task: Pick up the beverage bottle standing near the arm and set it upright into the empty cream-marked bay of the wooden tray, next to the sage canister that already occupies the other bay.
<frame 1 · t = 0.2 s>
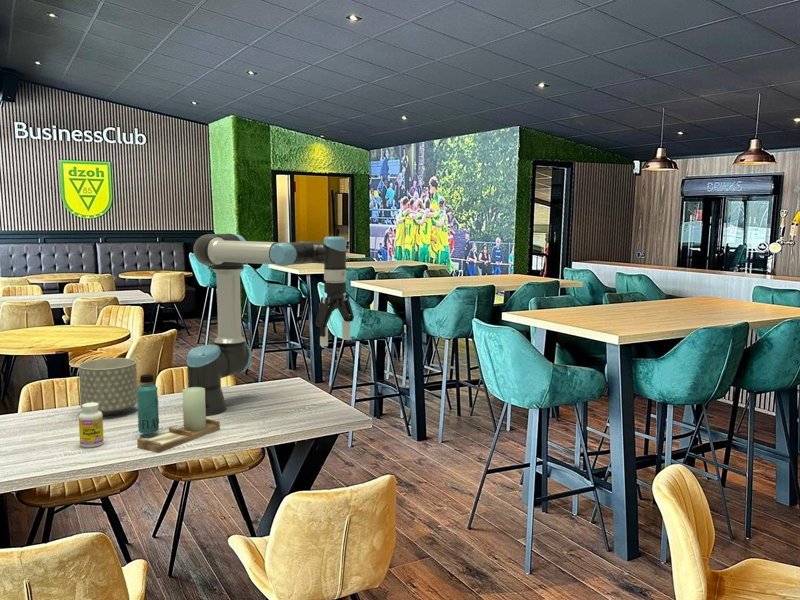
hand: (335, 342, 226), 28 cm above the table, fingers open, 13 cm apart
wooden tray: (180, 437, 210), on the table
sage canister: (195, 432, 215), resting on wooden tray
beverage bottle: (149, 435, 212), on the table
planter: (110, 412, 237), on the table
supplement bottle: (92, 445, 203), on the table
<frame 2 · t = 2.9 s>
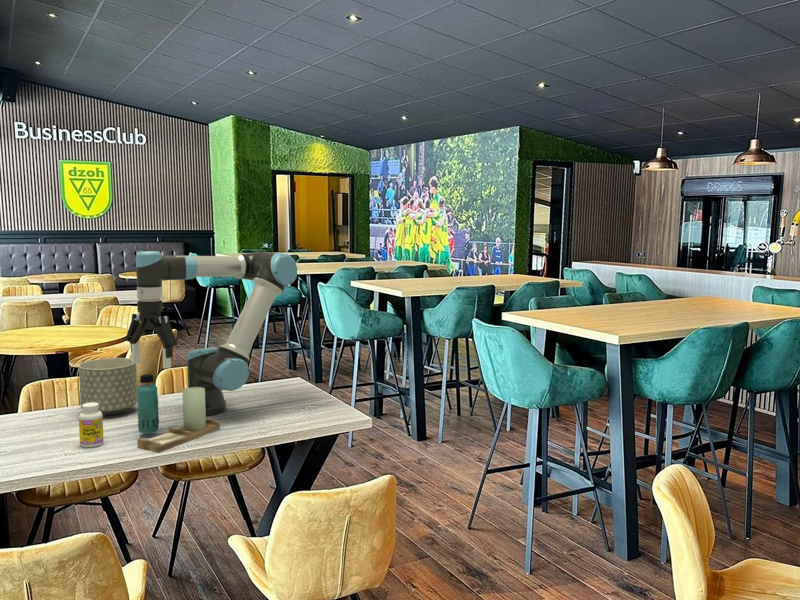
hand: (151, 365, 210), 23 cm above the table, fingers open, 13 cm apart
nothing on the table moved.
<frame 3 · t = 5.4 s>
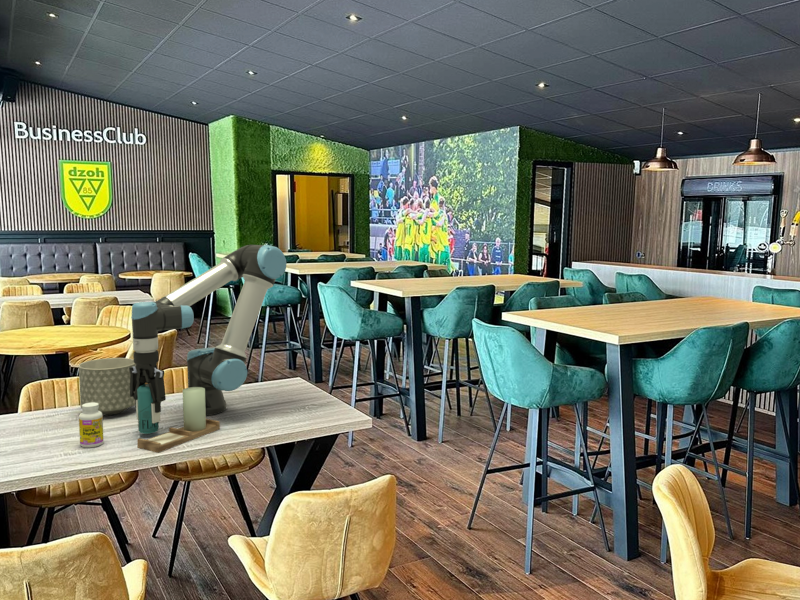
hand: (148, 420, 212), 5 cm above the table, fingers closed on beverage bottle, 6 cm apart
beverage bottle: (149, 435, 212), on the table, touching gripper
everything else where it was.
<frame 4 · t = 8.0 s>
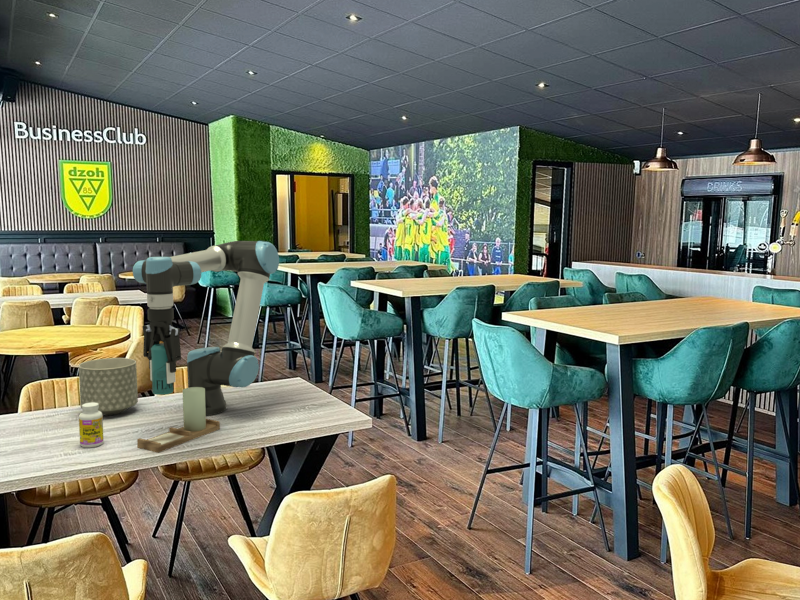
hand: (162, 381, 202), 20 cm above the table, fingers closed on beverage bottle, 6 cm apart
beverage bottle: (163, 397, 202), point 15 cm above the table, touching gripper
everything else where it was.
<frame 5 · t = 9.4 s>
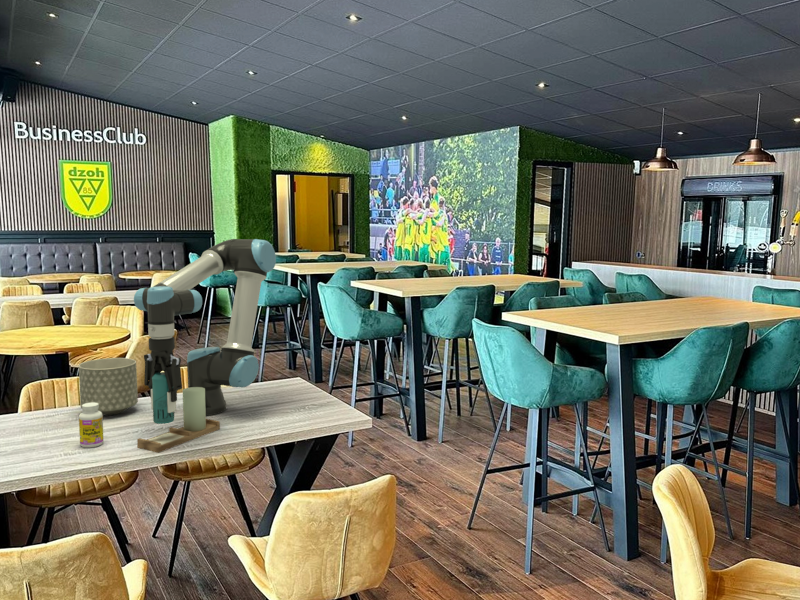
hand: (163, 409, 203), 11 cm above the table, fingers closed on beverage bottle, 6 cm apart
beverage bottle: (164, 426, 203), point 6 cm above the table, touching gripper
everything else where it was.
when the fingers open (8 cm above the table, at t = 10.4 s): beverage bottle drops 1 cm, resting on wooden tray.
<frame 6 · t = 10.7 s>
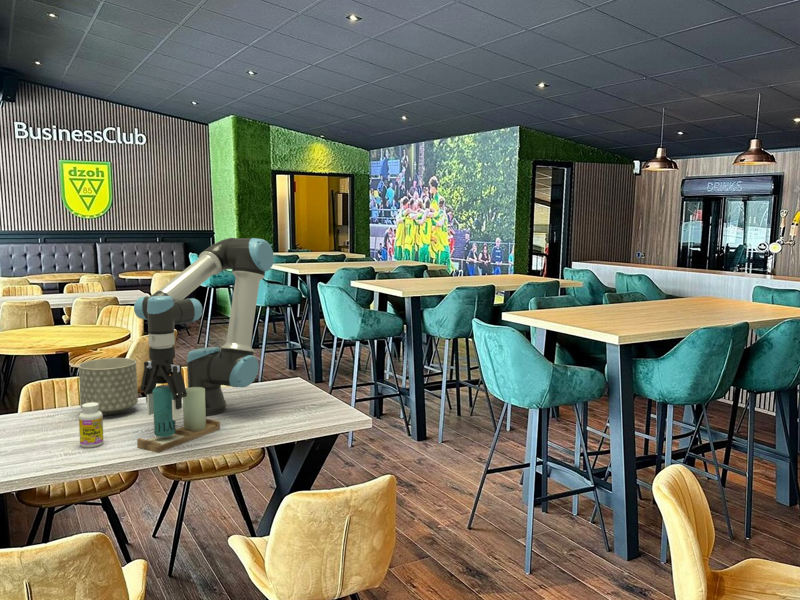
hand: (164, 416, 203), 9 cm above the table, fingers open, 10 cm apart
beverage bottle: (165, 438, 204), point 2 cm above the table, touching wooden tray
everything else where it was.
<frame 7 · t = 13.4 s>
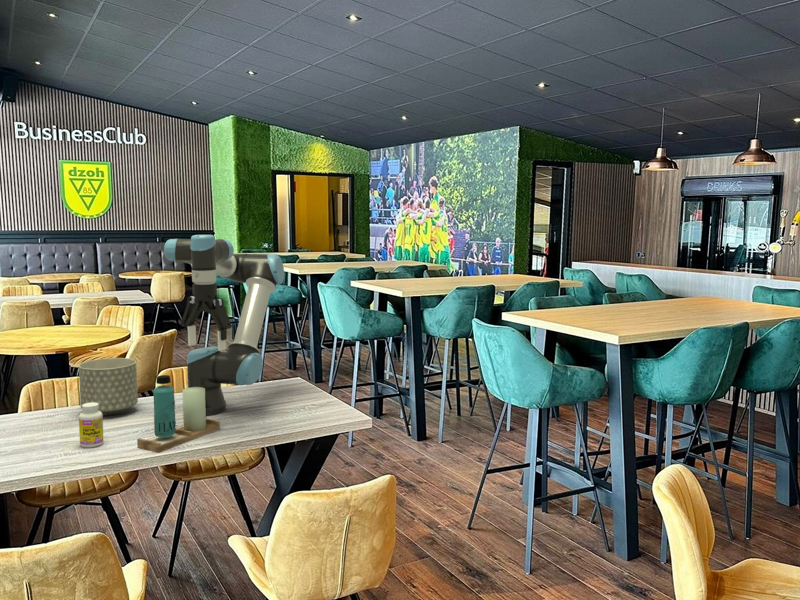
hand: (206, 347, 213), 28 cm above the table, fingers open, 13 cm apart
nothing on the table moved.
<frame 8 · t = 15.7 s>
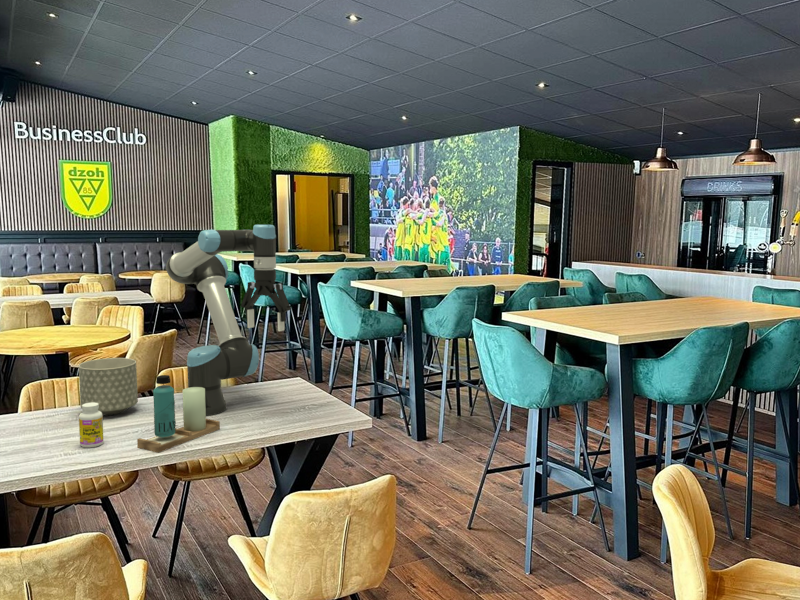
hand: (265, 329, 230), 32 cm above the table, fingers open, 13 cm apart
nothing on the table moved.
at the end: beverage bottle inside the target area on the wooden tray (0.1 cm from its centre), point 1.5 cm above the wooden tray's base; beverage bottle tilted 0°; the gripper is holding nothing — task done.
